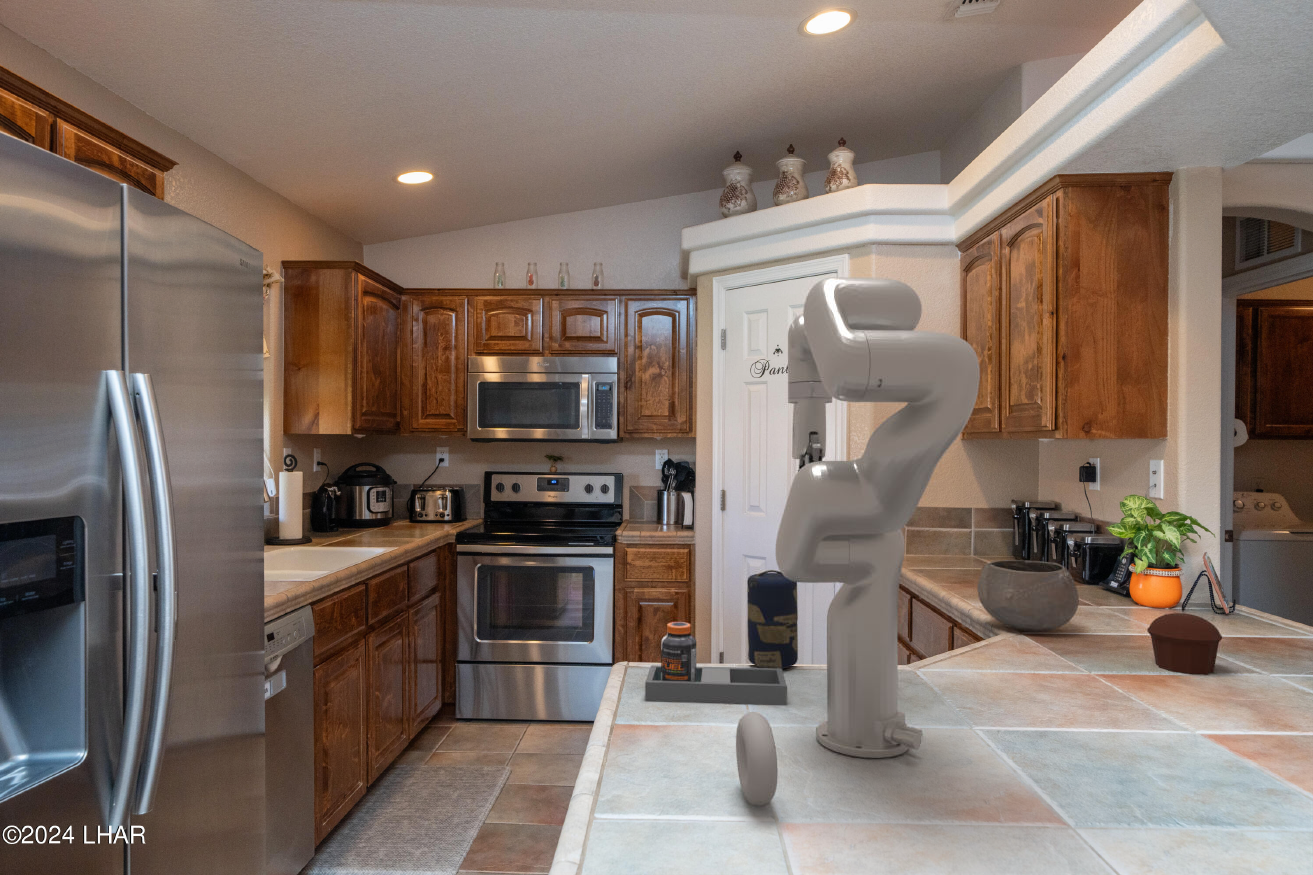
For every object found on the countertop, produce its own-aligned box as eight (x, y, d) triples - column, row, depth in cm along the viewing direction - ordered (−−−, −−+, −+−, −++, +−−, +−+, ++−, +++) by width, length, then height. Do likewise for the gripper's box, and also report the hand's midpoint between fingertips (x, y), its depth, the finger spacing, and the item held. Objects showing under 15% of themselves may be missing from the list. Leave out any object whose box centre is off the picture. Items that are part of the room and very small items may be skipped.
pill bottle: (655, 694, 125) (655, 625, 126) (668, 684, 131) (668, 618, 131) (689, 698, 123) (689, 628, 123) (701, 688, 129) (701, 621, 129)
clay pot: (1098, 639, 165) (1097, 570, 165) (1001, 639, 165) (1001, 569, 166) (1049, 618, 186) (1048, 557, 186) (964, 618, 186) (963, 557, 187)
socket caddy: (782, 686, 131) (781, 668, 131) (786, 704, 121) (786, 685, 121) (651, 682, 133) (651, 665, 133) (645, 700, 123) (645, 682, 123)
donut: (733, 783, 92) (733, 700, 92) (761, 782, 92) (761, 699, 92) (750, 823, 82) (750, 729, 82) (781, 821, 82) (781, 728, 82)
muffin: (1154, 672, 140) (1153, 618, 140) (1141, 657, 150) (1140, 607, 150) (1232, 679, 135) (1231, 623, 135) (1213, 664, 145) (1212, 611, 146)
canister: (797, 673, 139) (797, 574, 139) (745, 670, 140) (745, 573, 141) (798, 659, 148) (797, 567, 148) (749, 657, 150) (749, 565, 150)
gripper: (783, 398, 140) (784, 491, 139) (792, 390, 123) (793, 495, 122) (825, 398, 139) (825, 491, 139) (839, 389, 122) (840, 496, 122)
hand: (810, 493), depth 130 cm, fingers open, 9 cm apart
